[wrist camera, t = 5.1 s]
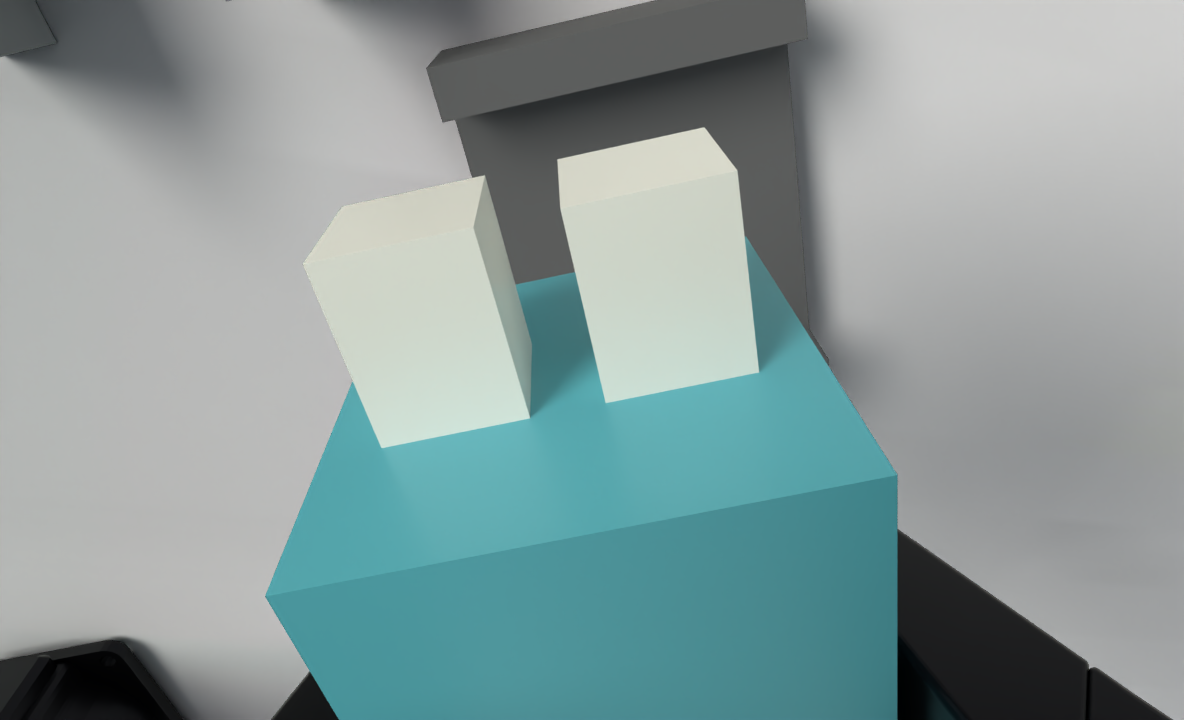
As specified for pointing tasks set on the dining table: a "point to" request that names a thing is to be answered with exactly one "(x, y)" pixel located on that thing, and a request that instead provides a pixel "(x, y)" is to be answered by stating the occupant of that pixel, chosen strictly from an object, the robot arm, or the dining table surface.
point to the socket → (22, 27)
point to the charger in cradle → (632, 115)
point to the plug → (587, 469)
